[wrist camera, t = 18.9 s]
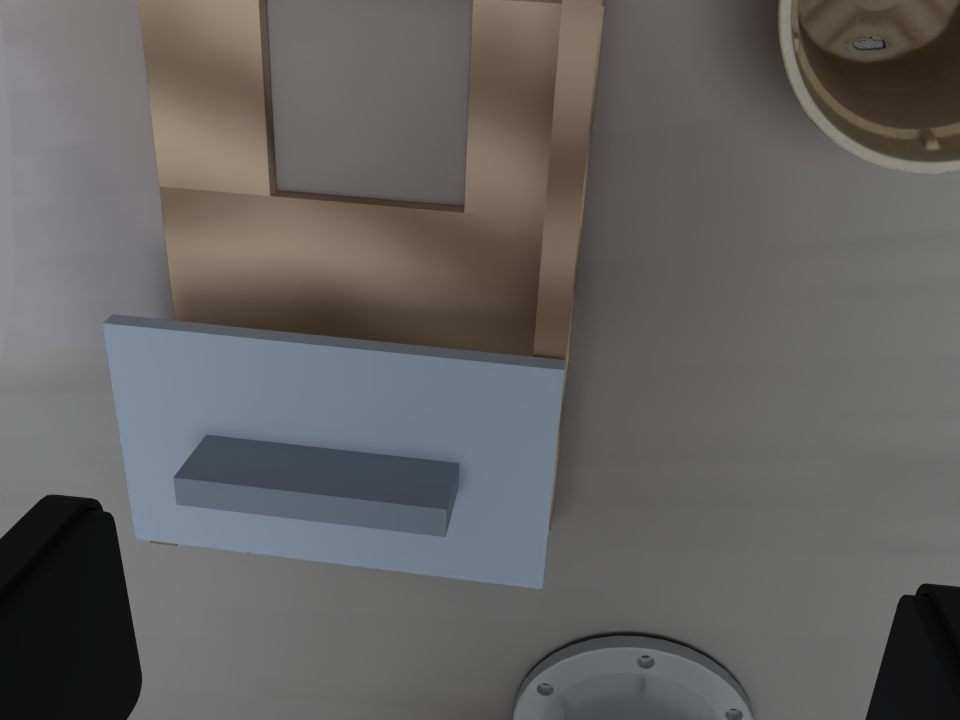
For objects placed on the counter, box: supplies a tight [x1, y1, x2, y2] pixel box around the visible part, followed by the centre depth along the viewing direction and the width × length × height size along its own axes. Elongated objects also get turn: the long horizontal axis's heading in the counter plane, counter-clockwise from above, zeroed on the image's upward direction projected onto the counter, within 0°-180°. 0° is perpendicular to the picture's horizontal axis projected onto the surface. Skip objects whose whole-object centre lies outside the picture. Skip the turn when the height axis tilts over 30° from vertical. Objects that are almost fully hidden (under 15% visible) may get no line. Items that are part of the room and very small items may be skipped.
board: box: [138, 0, 605, 590], centre depth 36 cm, size 25×17×6 cm
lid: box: [103, 315, 566, 590], centre depth 34 cm, size 10×17×4 cm, turn 87°
